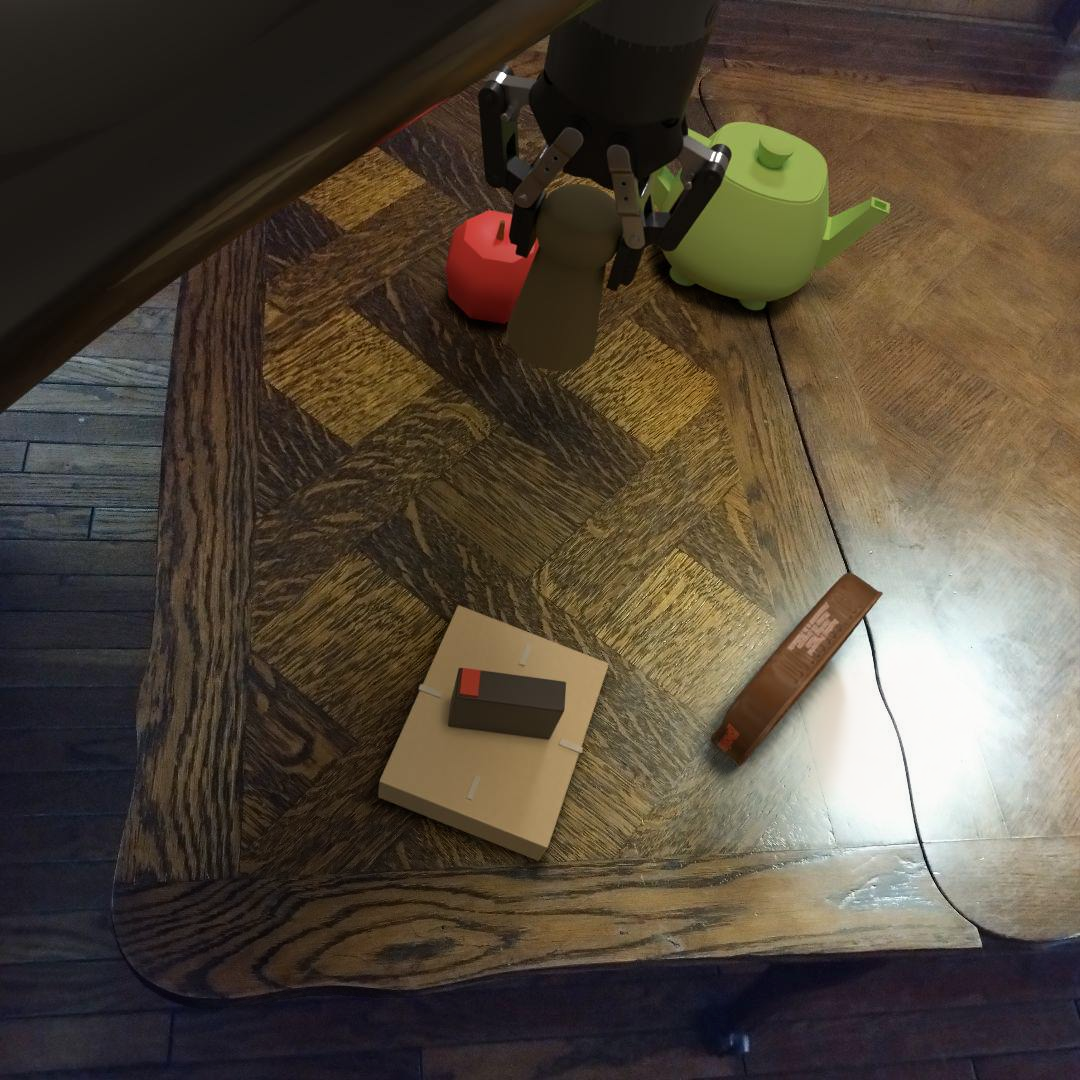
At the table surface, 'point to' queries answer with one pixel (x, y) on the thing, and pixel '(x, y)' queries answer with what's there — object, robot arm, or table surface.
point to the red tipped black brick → (506, 703)
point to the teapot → (762, 218)
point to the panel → (492, 740)
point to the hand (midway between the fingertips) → (570, 263)
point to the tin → (793, 667)
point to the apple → (486, 267)
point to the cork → (566, 278)
